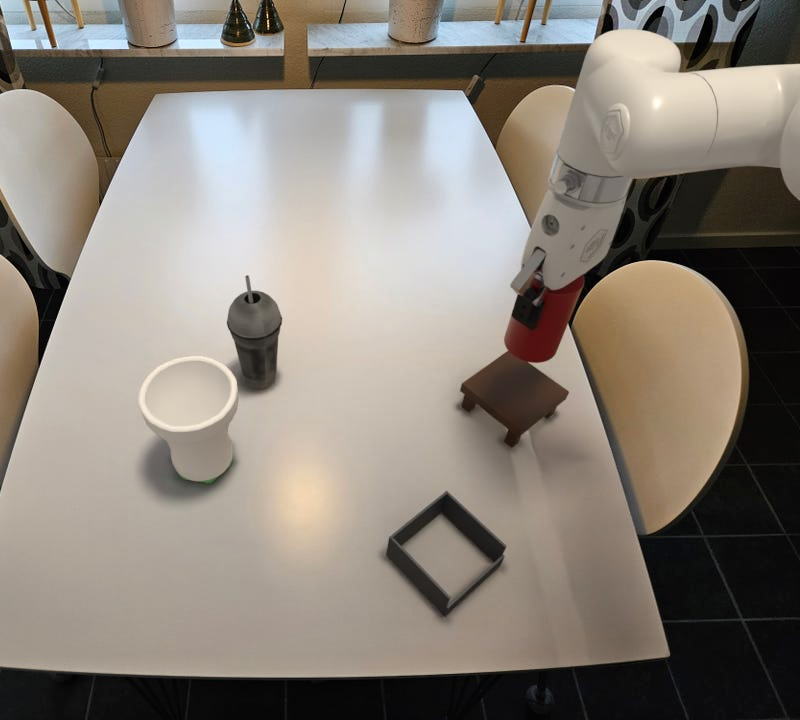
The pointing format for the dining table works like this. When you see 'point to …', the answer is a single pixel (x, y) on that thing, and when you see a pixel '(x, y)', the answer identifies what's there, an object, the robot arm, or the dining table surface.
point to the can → (544, 324)
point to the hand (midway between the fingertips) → (543, 308)
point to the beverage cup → (255, 335)
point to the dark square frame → (467, 526)
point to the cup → (192, 414)
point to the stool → (513, 394)
